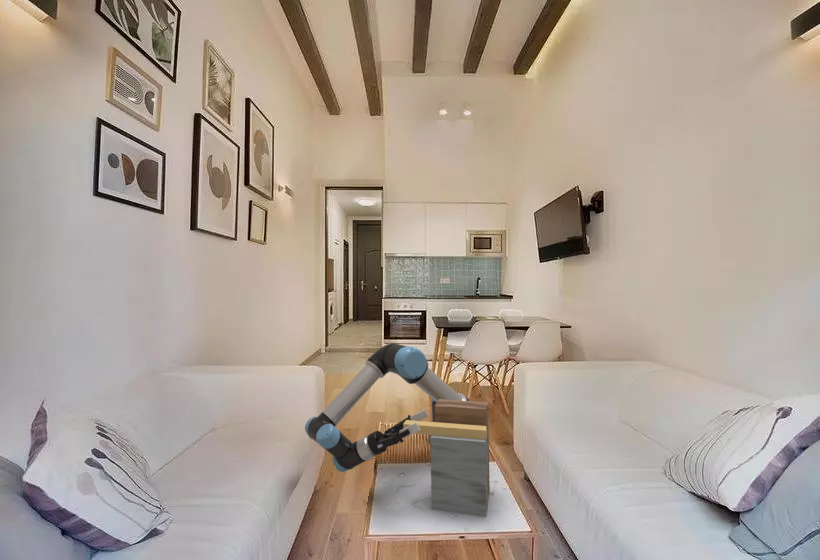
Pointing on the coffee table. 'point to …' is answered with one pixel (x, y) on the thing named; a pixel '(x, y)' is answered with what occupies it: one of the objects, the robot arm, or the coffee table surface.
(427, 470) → the coffee table surface
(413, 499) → the coffee table surface
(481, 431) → the ochre batten
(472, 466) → the stepped stand
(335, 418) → the robot arm
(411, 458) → the coffee table surface
